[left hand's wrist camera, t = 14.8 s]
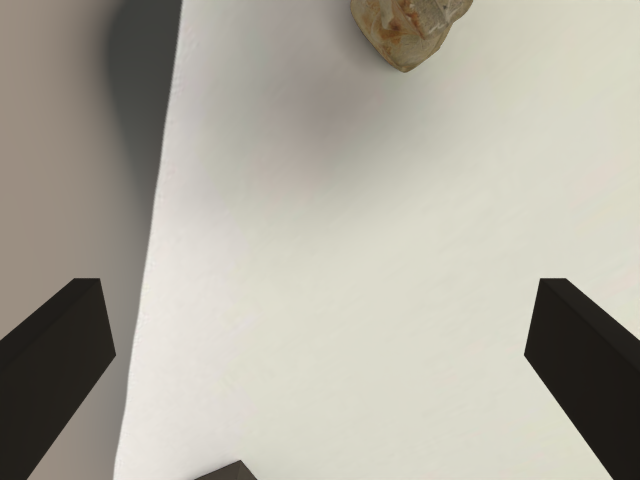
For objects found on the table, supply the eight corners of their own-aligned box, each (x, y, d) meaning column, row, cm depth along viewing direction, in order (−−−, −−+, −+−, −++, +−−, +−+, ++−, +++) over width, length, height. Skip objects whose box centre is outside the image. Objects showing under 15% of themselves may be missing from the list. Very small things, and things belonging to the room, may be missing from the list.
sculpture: (398, -40, 34) (455, -119, 20) (443, 42, 36) (521, 24, 22) (337, 7, 35) (349, -35, 21) (383, 84, 37) (422, 93, 23)
